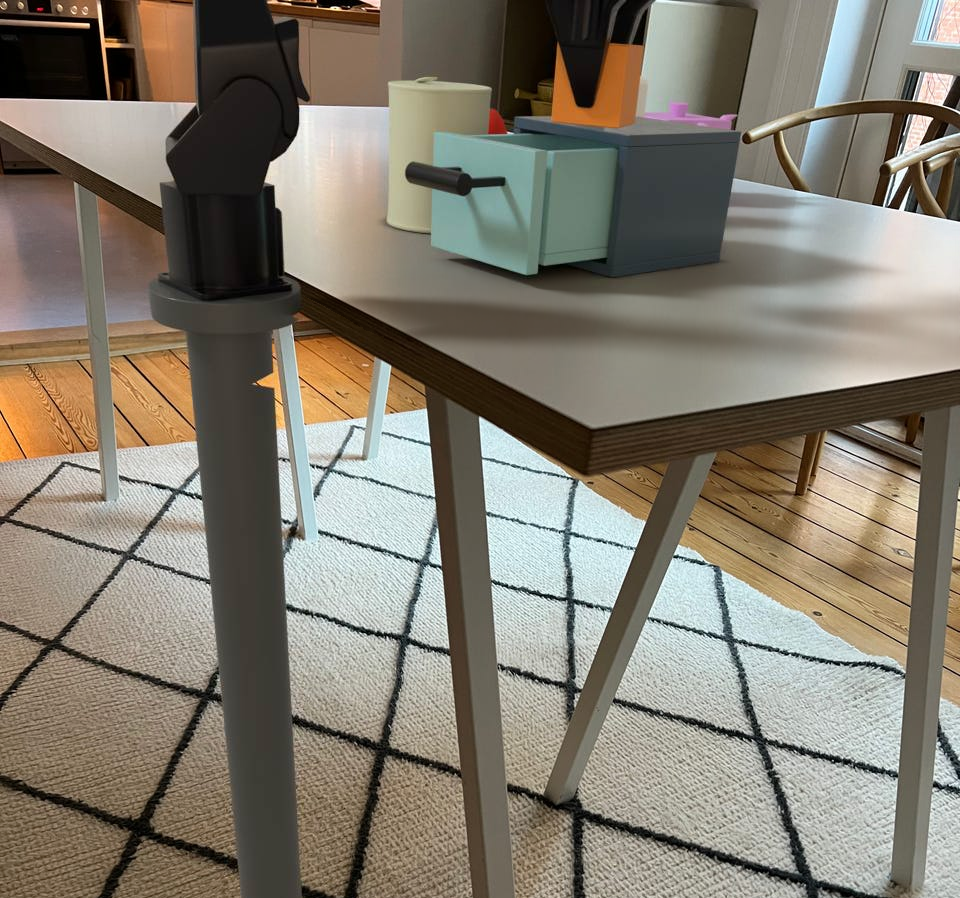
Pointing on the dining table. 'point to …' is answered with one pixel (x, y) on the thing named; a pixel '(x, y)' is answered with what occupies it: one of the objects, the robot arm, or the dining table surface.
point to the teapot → (691, 117)
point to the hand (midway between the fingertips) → (594, 105)
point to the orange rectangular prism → (602, 91)
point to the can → (426, 138)
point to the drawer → (520, 197)
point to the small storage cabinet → (659, 191)
